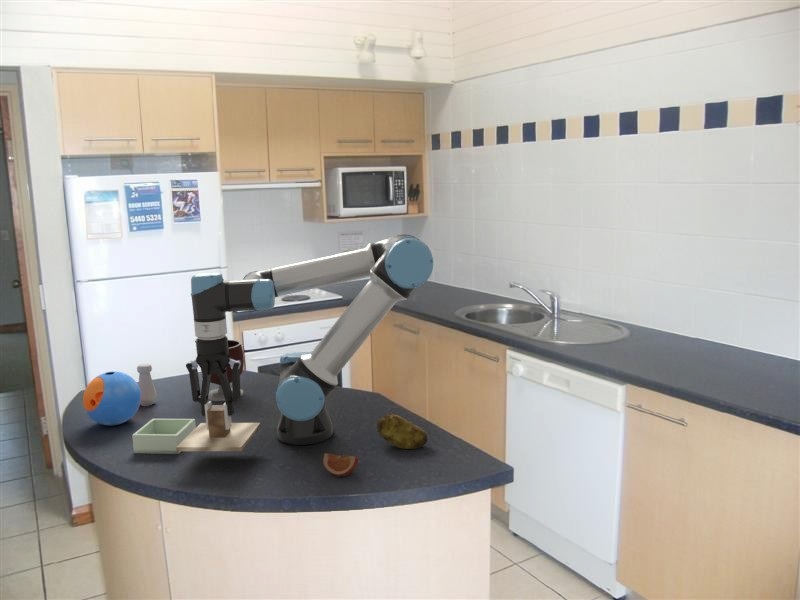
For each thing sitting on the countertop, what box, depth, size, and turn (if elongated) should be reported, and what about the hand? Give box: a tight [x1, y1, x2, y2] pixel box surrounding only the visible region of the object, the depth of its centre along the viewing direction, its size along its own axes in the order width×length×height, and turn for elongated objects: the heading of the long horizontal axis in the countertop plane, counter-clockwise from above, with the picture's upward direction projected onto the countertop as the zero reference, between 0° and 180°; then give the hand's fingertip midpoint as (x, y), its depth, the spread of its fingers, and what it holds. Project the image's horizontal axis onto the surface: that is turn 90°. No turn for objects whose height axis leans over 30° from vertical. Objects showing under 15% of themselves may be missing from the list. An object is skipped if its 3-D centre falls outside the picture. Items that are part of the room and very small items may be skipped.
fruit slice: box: [322, 452, 359, 477], centre depth 158 cm, size 8×7×5 cm
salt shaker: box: [136, 363, 158, 407], centre depth 210 cm, size 6×6×13 cm
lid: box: [176, 404, 262, 452], centre depth 166 cm, size 16×16×8 cm
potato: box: [376, 413, 428, 450], centre depth 173 cm, size 8×13×8 cm, turn 55°
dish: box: [131, 418, 197, 455], centre depth 177 cm, size 12×12×5 cm
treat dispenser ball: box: [82, 371, 141, 426], centre depth 193 cm, size 16×15×15 cm
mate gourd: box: [194, 339, 245, 402], centre depth 216 cm, size 16×14×20 cm
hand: (219, 427), depth 166 cm, fingers closed on lid, 4 cm apart
